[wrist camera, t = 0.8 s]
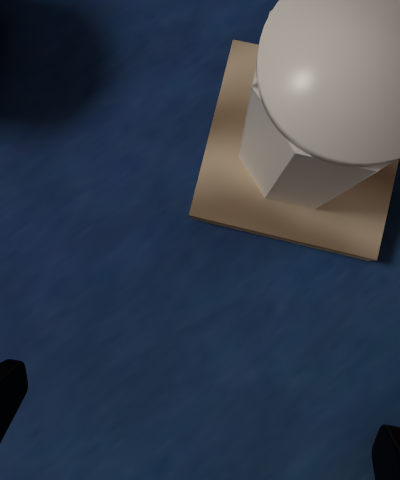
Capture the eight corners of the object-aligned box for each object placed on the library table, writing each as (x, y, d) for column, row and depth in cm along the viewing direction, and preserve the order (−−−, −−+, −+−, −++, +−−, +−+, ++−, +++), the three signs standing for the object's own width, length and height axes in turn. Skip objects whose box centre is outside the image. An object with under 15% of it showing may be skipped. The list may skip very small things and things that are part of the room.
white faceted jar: (376, 101, 23) (491, -19, 13) (350, 219, 22) (449, 184, 13) (257, 76, 23) (283, -57, 14) (228, 191, 23) (235, 136, 13)
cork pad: (367, 260, 24) (377, 260, 22) (190, 218, 24) (189, 215, 23) (404, 88, 24) (416, 77, 23) (232, 53, 25) (233, 39, 24)
